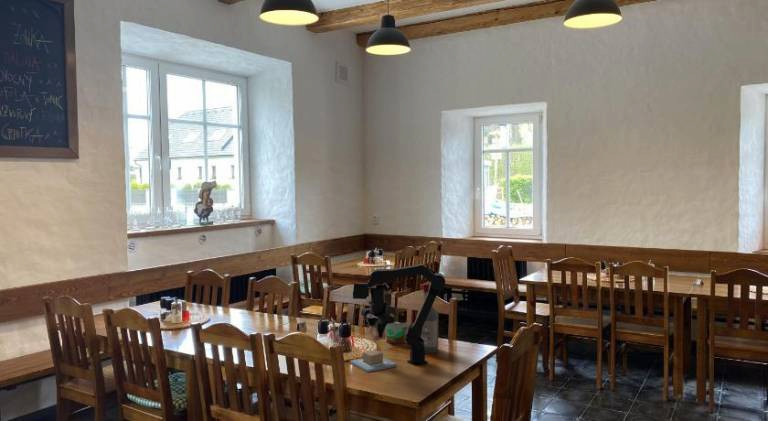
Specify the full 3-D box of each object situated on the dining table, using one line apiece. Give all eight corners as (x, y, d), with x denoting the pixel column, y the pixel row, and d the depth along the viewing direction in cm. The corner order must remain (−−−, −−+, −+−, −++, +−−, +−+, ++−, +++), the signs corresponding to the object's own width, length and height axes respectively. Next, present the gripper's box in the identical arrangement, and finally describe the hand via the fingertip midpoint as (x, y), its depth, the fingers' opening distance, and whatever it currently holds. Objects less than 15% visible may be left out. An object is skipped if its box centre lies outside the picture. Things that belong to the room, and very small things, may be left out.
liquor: (436, 353, 266) (436, 286, 264) (415, 352, 268) (415, 285, 266) (438, 347, 275) (438, 282, 273) (418, 346, 277) (418, 281, 275)
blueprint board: (396, 366, 249) (396, 354, 249) (367, 372, 242) (367, 360, 241) (378, 357, 261) (378, 346, 261) (350, 363, 253) (349, 351, 253)
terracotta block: (385, 339, 253) (385, 327, 253) (375, 340, 251) (375, 328, 250) (379, 336, 257) (379, 324, 257) (369, 337, 255) (369, 326, 255)
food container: (379, 342, 283) (379, 321, 283) (385, 339, 289) (385, 319, 288) (402, 346, 278) (402, 324, 277) (408, 343, 283) (408, 321, 282)
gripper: (405, 301, 249) (405, 338, 250) (383, 293, 265) (382, 328, 266) (382, 304, 243) (382, 342, 244) (360, 295, 259) (360, 331, 260)
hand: (377, 335), depth 254 cm, fingers closed on terracotta block, 5 cm apart
